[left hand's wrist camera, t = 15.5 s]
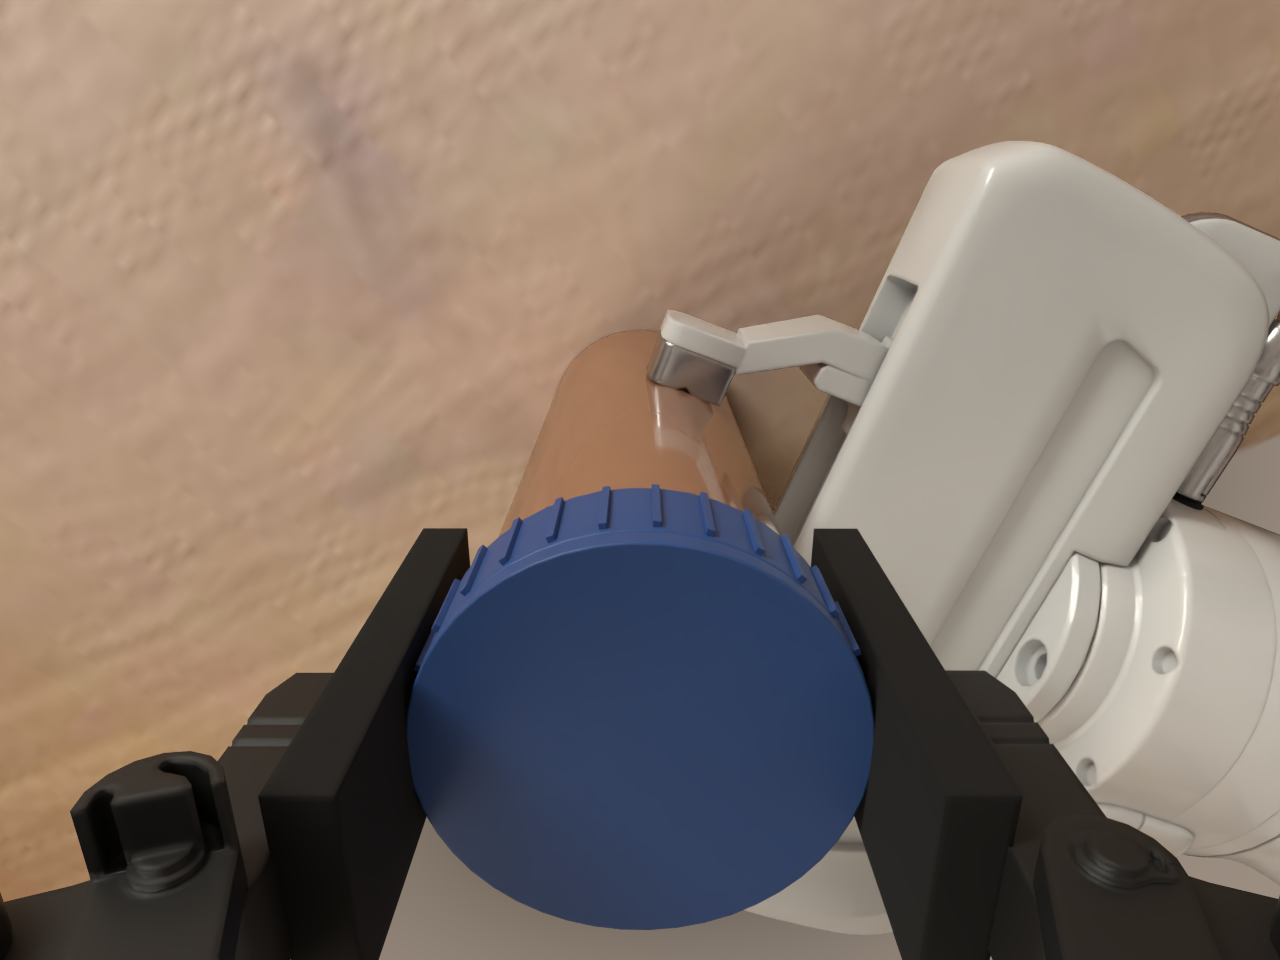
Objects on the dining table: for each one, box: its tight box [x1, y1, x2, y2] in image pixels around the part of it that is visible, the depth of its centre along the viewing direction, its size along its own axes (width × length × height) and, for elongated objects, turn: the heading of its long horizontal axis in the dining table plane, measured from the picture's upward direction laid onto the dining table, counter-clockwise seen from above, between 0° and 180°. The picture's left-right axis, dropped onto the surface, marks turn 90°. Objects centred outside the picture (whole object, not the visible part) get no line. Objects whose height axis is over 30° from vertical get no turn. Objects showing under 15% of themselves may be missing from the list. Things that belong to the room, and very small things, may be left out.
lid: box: [406, 484, 875, 930], centre depth 11 cm, size 6×6×2 cm
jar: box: [499, 330, 782, 536], centre depth 18 cm, size 6×6×16 cm
